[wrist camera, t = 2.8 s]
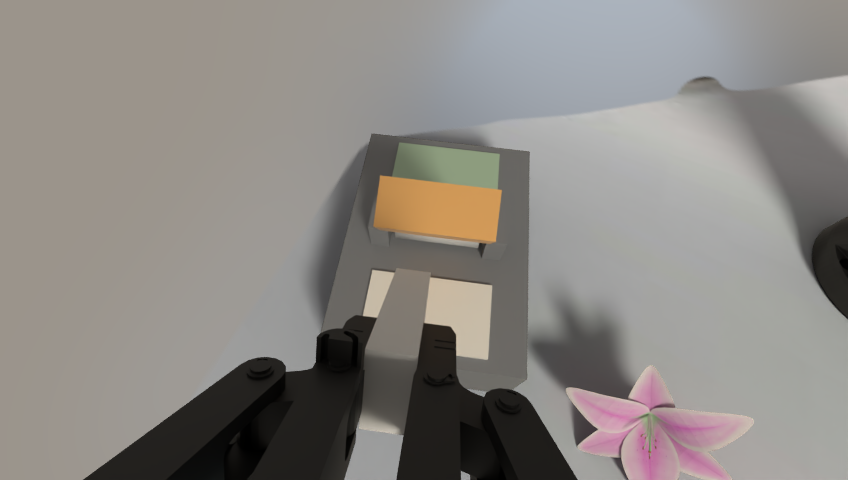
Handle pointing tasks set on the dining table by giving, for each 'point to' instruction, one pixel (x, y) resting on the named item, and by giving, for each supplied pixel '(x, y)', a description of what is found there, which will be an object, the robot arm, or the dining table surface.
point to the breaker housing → (446, 257)
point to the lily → (656, 431)
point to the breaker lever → (437, 211)
